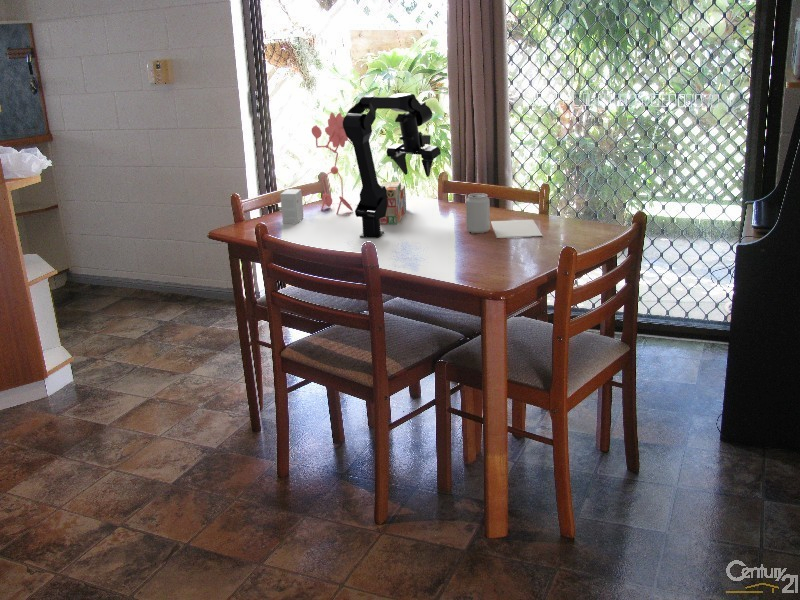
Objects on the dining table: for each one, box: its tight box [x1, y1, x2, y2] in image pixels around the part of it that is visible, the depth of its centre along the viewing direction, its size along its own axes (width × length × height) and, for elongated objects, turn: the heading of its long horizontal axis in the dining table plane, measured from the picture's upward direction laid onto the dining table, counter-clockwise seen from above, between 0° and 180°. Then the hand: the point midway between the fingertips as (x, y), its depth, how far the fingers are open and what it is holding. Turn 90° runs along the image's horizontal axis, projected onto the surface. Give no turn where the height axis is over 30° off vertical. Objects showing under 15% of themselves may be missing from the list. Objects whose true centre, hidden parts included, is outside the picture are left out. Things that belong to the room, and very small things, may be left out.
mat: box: [490, 219, 543, 239], centre depth 259 cm, size 14×20×1 cm
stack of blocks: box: [380, 181, 407, 225], centre depth 281 cm, size 21×6×12 cm, turn 171°
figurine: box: [311, 112, 354, 217], centre depth 292 cm, size 15×26×35 cm, turn 43°
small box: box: [279, 188, 304, 224], centre depth 282 cm, size 8×6×10 cm
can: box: [465, 192, 491, 234], centre depth 257 cm, size 8×8×12 cm
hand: (417, 175), depth 274 cm, fingers open, 9 cm apart
